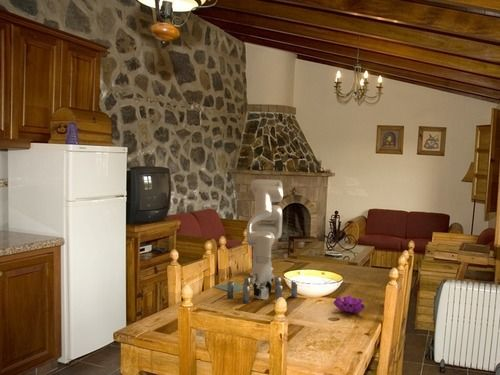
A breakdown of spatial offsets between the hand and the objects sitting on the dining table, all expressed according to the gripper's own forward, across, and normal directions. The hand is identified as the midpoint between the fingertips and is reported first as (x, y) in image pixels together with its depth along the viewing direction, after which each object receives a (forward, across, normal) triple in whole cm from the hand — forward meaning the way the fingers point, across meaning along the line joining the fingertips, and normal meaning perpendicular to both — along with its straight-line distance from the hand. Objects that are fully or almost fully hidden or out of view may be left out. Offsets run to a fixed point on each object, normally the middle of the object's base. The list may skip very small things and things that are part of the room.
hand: (262, 293), depth 230 cm
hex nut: (+2, 0, 0) cm, 2 cm away
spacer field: (+2, 0, 0) cm, 2 cm away
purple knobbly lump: (+2, -13, +41) cm, 43 cm away
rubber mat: (+2, -2, -23) cm, 23 cm away
